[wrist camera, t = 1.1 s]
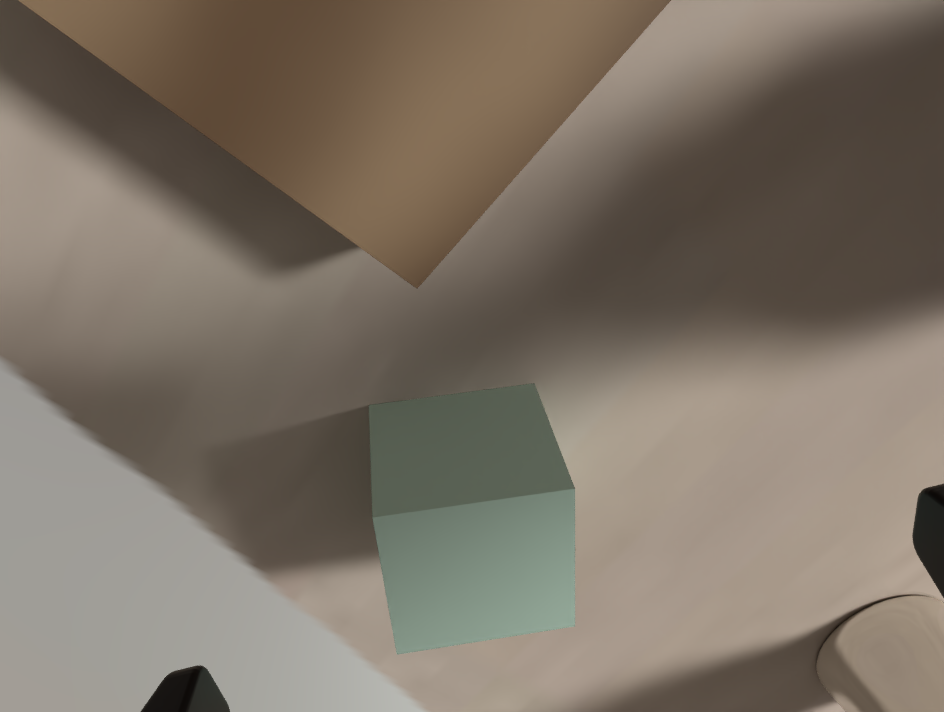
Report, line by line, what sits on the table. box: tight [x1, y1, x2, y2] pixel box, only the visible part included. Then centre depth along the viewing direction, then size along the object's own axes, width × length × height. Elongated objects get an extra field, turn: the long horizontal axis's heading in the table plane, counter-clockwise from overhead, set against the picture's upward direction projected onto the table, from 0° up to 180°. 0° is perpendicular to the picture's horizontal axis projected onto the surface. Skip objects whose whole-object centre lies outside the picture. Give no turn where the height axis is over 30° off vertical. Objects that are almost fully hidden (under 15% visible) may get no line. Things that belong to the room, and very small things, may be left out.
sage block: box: [369, 384, 575, 654], centre depth 22 cm, size 5×5×5 cm
